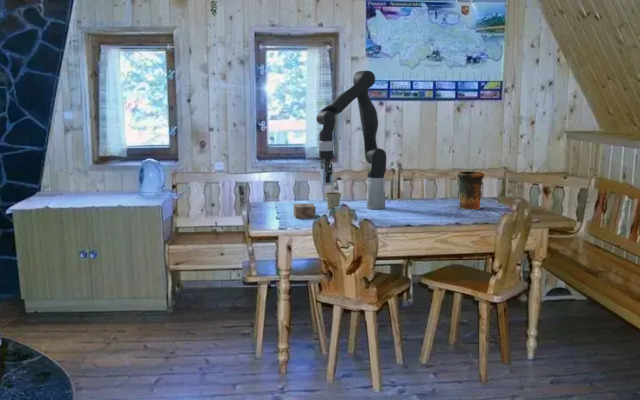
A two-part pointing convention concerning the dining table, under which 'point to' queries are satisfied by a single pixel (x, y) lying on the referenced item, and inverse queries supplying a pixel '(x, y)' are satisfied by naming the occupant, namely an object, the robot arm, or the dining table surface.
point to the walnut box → (304, 211)
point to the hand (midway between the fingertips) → (326, 181)
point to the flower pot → (333, 199)
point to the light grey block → (324, 178)
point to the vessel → (470, 189)
